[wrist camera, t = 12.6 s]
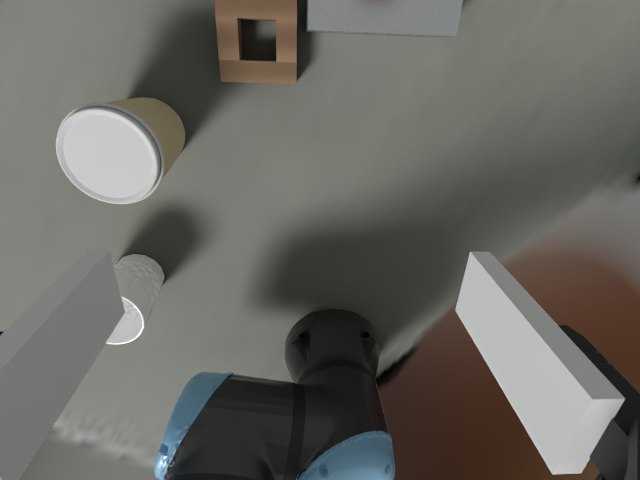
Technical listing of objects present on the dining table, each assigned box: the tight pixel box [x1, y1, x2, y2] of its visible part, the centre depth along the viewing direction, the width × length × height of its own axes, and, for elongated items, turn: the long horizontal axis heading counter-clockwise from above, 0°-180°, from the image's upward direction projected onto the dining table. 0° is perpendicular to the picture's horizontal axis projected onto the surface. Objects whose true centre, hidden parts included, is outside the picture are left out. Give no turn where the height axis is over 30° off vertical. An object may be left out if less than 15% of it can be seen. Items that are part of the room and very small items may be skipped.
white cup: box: [106, 254, 165, 344], centre depth 49 cm, size 8×8×10 cm
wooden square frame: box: [214, 0, 297, 84], centre depth 40 cm, size 8×8×3 cm
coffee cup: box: [56, 97, 185, 204], centre depth 39 cm, size 9×9×12 cm
